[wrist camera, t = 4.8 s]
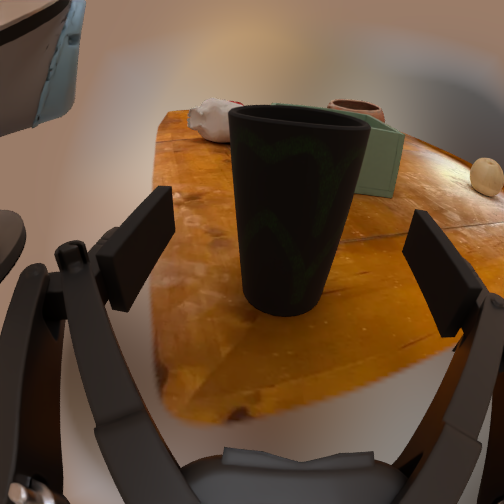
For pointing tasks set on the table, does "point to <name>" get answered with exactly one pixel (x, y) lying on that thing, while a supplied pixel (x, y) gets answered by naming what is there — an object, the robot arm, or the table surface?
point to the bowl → (357, 107)
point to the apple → (487, 177)
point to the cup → (291, 198)
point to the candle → (212, 119)
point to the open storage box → (376, 155)
